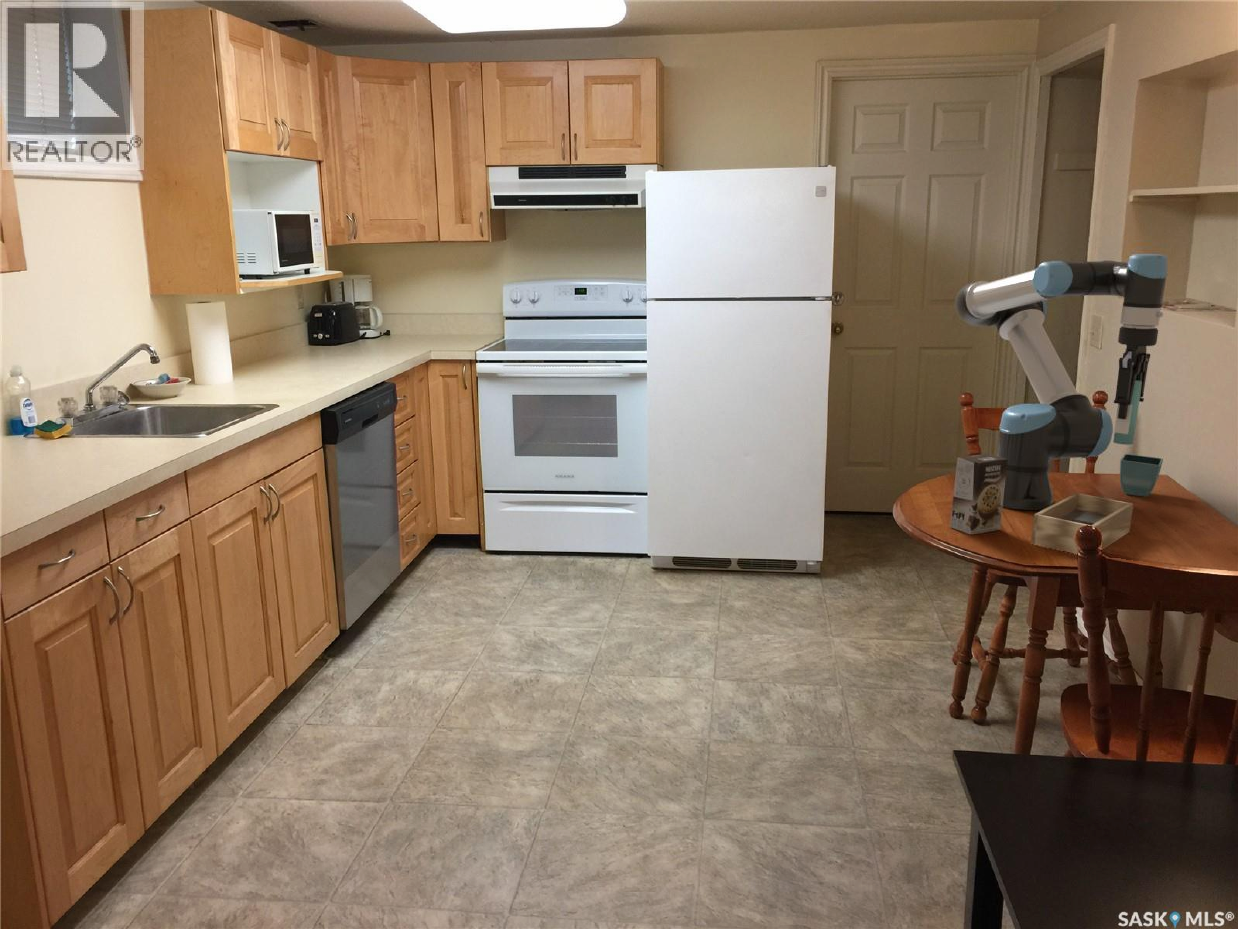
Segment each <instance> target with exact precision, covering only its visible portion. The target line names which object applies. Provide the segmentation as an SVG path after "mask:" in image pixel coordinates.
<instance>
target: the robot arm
mask: <svg viewBox="0 0 1238 929" xmlns="http://www.w3.org/2000/svg"><path fill="white" fill-rule="evenodd" d="M1167 277H1168V257H1167V256H1166V255H1164V254H1152V253H1132V254H1130V256H1129V259H1128V261H1126V262H1124V261H1115V260H1099V261H1096V260H1095V261H1061V260H1052V261H1044V262H1042V263H1040V264H1039V265H1038V267H1036V268H1035V269H1032V270H1029V271H1025V272H1022V273H1018V274H1015V275H1011V276H1008V277H1007V276H1006V277H1004V278H1000V279H996V280H994V281H988V280H979V281H975V282H971V283H968V284H966V285H965V286H963V287H962V288H961V289H960V290H959V291H958V292H957V295H956V296H955V297H956V298H955V302H954V306H955V307H954V308H955V311H956V313H957V316H958V317H959V318H960V319H961V320H962V321H963V322H965V323H966V324H968V325H971V326H974V327H995V328H996V331H997V332H998V334H999V336H1000V337H1001V339H1003V340H1006V341H1009V342H1010V344H1011V347H1012V348H1013V350H1014V352H1015V354H1016V356H1017V358H1018V362H1020V364H1021V366H1022V368H1023V371H1024V373H1025V375H1026V377H1027V379H1028V381H1029V383H1030V385H1031V387H1032V389H1033V391H1034V393H1035V395H1036V397H1037V399H1038V401H1039V403H1019V404H1016V405H1011V406H1009V407H1007V408H1006V409H1005V410H1004V411H1003V412H1002V414H1001V415H1002V416H1001V420H1000V424H999V426H998V427H999V428H998V429H999V435H998V436H999V437H998V443H997V444H998V446H997V455H996V456H998V457H1002V458H1005V459H1008V463H1007V471H1006V480H1005V489H1004V497H1003V507H1002V508H1007V509H1012V510H1021V511H1042V510H1044V509H1046V508H1048V507H1050V506H1052V505H1053V502H1054V501H1053V500H1054V495H1053V490H1052V489H1053V488H1052V486H1051V481H1050V476H1049V467H1050V460H1052V459H1053V460H1055V459H1076V458H1079V459H1080V458H1082V459H1086V458H1091V457H1096V456H1097V457H1098V456H1100V455H1102V454H1103V453H1104V452H1106V450H1107V449H1108V447H1109V445H1110V444H1111V441H1112V438H1113V432H1114V433H1115V432H1116V433H1123V434H1128V432H1129V425H1130V417H1131V410H1132V405H1130V404H1131V399H1132V394H1133V389H1134V385H1135V380H1139V381H1142V385H1141V392H1140V399H1139V403H1140V402H1141V403H1144V401H1145V398H1144V393H1145V387H1146V380H1147V373H1148V368H1149V362H1150V359H1151V353H1147V347H1153V346H1156V344H1157V342H1158V334H1159V329H1158V328H1157V327H1158V326H1159V325H1160V321H1161V318H1162V317H1164V312H1162V305H1163V299H1164V293H1165V286H1166V281H1167ZM1073 296H1080V297H1081V296H1084V297H1085V296H1113V297H1122V298H1123V303H1122V308H1121V316H1120V322H1119V323H1120V324H1121V325H1122V326H1120V327H1119V330H1118V331H1119V332H1118V339H1117V342H1118V343H1119V344H1120V345H1125V346H1126V348H1125V351H1124V352H1123V353H1122V357H1119V359H1118V373H1117V382H1116V388H1115V389H1116V390H1115V391H1116V392H1115V397H1114V400H1113V403H1114V404H1117V409H1116V417H1115V423H1113V420H1112V416H1111V415H1110V412H1108V411H1107V410H1106V409H1102V408H1100V407H1094V406H1093V405H1092V402H1091V400H1089V397H1088V396H1087V395H1086V394H1085V393H1080V392H1079V393H1078V391H1077V389H1076V386H1075V385H1074V383H1073V382H1072V380H1071V378H1070V375H1069V374H1068V372H1067V370H1066V368H1065V366H1064V364H1063V362H1062V360H1061V359H1060V356H1059V355H1058V353H1057V351H1056V348H1055V347H1054V346H1053V343H1052V341H1051V339H1050V337H1049V336H1048V334H1047V332H1046V330H1045V328H1044V326H1043V324H1044V322H1045V317H1046V314H1047V310H1048V306H1047V305H1046V303H1047V302H1048V300H1051V299H1059V298H1062V297H1073ZM1113 424H1115V425H1113Z"/></svg>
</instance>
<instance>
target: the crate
mask: <svg viewBox="0 0 1238 929" xmlns="http://www.w3.org/2000/svg"><path fill="white" fill-rule="evenodd" d="M1133 508H1134V503H1132V502H1127V501H1121V500H1115V499H1111V498H1105V497H1101V496H1095V495H1091V494H1090V495H1089V494H1084V493H1079V492H1076V493H1073V494H1071V495H1069V496H1068V497H1066V498H1063V499H1062V500H1060V501H1058V502H1056V503H1053V504H1052V506H1050V507H1048V508H1046V509H1042V510H1039V512H1036V513H1034V514H1033V521H1032V530H1031V536H1030V537H1031V538H1030V545H1032V544H1033V545H1032V546H1036V545H1038V547H1041V546H1042V547H1041V548H1045V547H1046V548H1045V549H1049V548H1054V549H1059V550H1063V551H1070V552H1071V553H1074V554H1073V555H1075V554H1076V556H1078V555H1077V547H1076V544H1075V541H1074V535H1075V533H1076V531H1077V530H1078V528H1079V527H1082V526H1086V525H1088V526H1092V527H1096V528H1098V529H1099V530H1100V531H1101V533H1102V539H1103V541H1102V547H1101V548H1104V549H1106V548H1107V547H1109V546H1111V545H1112V544H1113V543H1115V542H1117V541H1118V540H1119V539H1121V538H1123V537H1124V536H1126V535H1127V534H1128V533H1130V529H1131V522H1132V516H1133V510H1134V509H1133ZM1105 547H1106V548H1105ZM1054 549H1053V550H1054ZM1071 553H1070V554H1071Z"/></svg>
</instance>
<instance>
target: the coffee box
mask: <svg viewBox="0 0 1238 929" xmlns="http://www.w3.org/2000/svg"><path fill="white" fill-rule="evenodd" d="M1007 463H1008V459H1005V458H1002V457H998V456H997V455H992V454H988V453H982V454H975V455H968V456H967V455H965V456H958V457H957V461H956V468H955V475H954V476H955V479H954V488H953V496H952V505H951V515H950V523H949V527H950V528H951V529H955V530H957V531H960V532H962V533H964V534H967V535H977V534H983V533H987V532H993V531H994V532H995V531H998V530H1001V523H1002V516H1003V515H1002V514H1003V508H1004V507H1003V497H1004V489H1005V480H1006V471H1007Z"/></svg>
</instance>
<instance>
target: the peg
mask: <svg viewBox="0 0 1238 929" xmlns="http://www.w3.org/2000/svg"><path fill="white" fill-rule="evenodd" d="M1141 385H1142V381H1139V380H1135V385H1134V389H1133V394H1132V399H1131V404H1130V405H1132V410H1131V417H1130V425H1129V432H1128V434H1123V433H1116V432H1114V434H1113V443H1114V444H1118V445H1125V446H1128V445H1133V444H1134V441H1135V434H1136V429H1137V428H1136V426H1137V418H1138V413H1139V405H1140V401H1139V399H1140V392H1141Z"/></svg>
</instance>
